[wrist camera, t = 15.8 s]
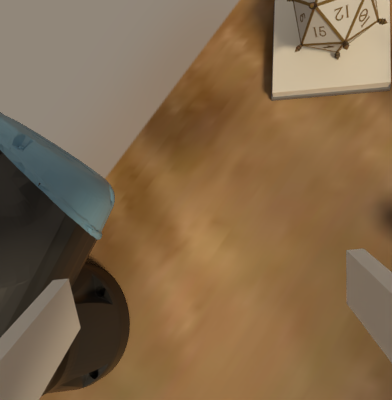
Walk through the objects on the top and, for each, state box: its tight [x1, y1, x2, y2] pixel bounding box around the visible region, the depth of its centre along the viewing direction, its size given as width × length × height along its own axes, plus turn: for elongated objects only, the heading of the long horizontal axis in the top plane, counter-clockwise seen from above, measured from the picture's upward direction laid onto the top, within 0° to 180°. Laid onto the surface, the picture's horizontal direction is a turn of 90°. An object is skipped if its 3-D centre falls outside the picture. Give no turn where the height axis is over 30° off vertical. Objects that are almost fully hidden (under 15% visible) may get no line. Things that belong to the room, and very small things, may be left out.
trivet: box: [272, 0, 391, 101], centre depth 36 cm, size 12×12×2 cm
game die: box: [287, 0, 388, 60], centre depth 31 cm, size 9×8×10 cm
